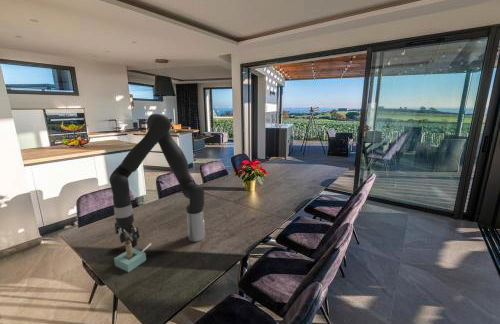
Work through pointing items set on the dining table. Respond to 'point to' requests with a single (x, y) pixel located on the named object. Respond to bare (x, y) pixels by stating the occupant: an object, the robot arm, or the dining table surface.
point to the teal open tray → (130, 264)
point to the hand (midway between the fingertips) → (128, 244)
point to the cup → (129, 237)
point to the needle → (128, 249)
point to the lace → (146, 247)
